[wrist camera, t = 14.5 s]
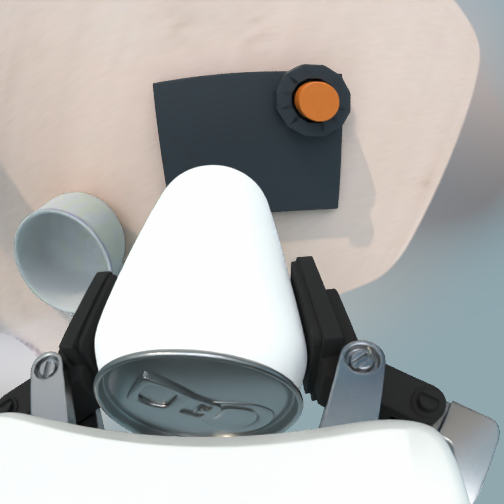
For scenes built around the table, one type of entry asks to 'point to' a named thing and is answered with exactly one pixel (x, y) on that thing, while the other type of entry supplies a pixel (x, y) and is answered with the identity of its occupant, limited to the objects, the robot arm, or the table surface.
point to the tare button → (317, 101)
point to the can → (203, 318)
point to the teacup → (68, 248)
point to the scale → (255, 133)
